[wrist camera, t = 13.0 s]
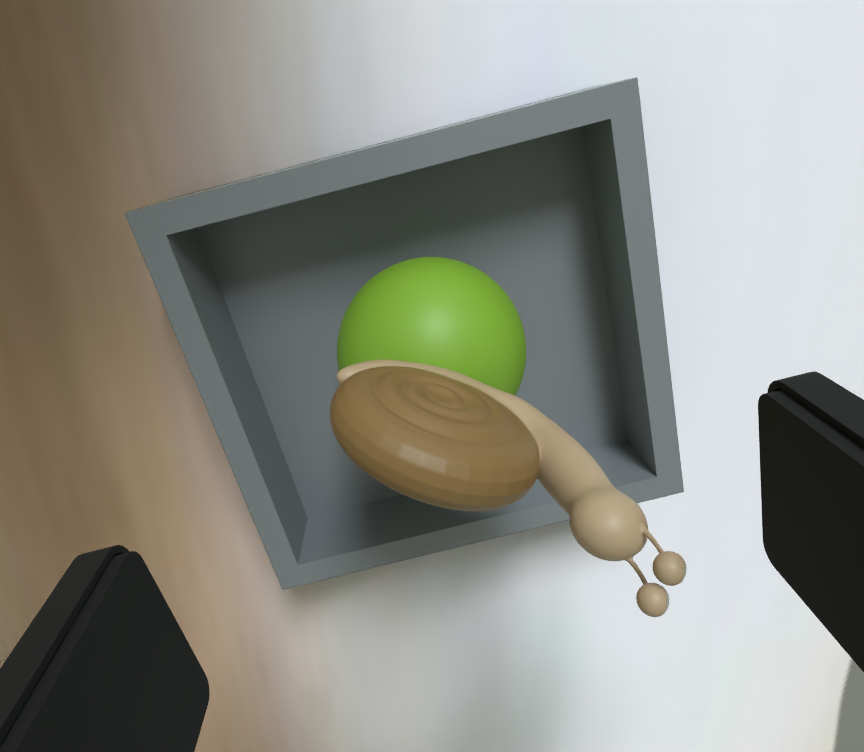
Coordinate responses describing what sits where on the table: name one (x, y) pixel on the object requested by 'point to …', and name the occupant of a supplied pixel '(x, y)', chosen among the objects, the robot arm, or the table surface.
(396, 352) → the snail figurine
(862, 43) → the table surface
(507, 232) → the bin
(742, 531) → the table surface
